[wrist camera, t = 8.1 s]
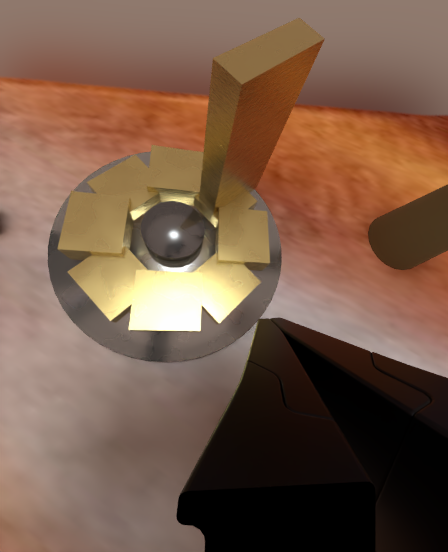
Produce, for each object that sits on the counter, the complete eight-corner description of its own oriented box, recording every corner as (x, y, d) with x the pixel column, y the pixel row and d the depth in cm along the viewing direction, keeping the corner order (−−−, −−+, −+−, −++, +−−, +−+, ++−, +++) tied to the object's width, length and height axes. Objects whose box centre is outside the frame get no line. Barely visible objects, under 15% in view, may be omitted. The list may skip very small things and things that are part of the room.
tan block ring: (164, 377, 15) (121, 447, 5) (32, 228, 16) (-215, 41, 6) (306, 236, 20) (429, 127, 10) (197, 130, 21) (208, -60, 11)
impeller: (164, 419, 15) (159, 438, 12) (2, 236, 17) (-38, 212, 14) (314, 255, 21) (337, 240, 18) (182, 130, 23) (182, 96, 20)
